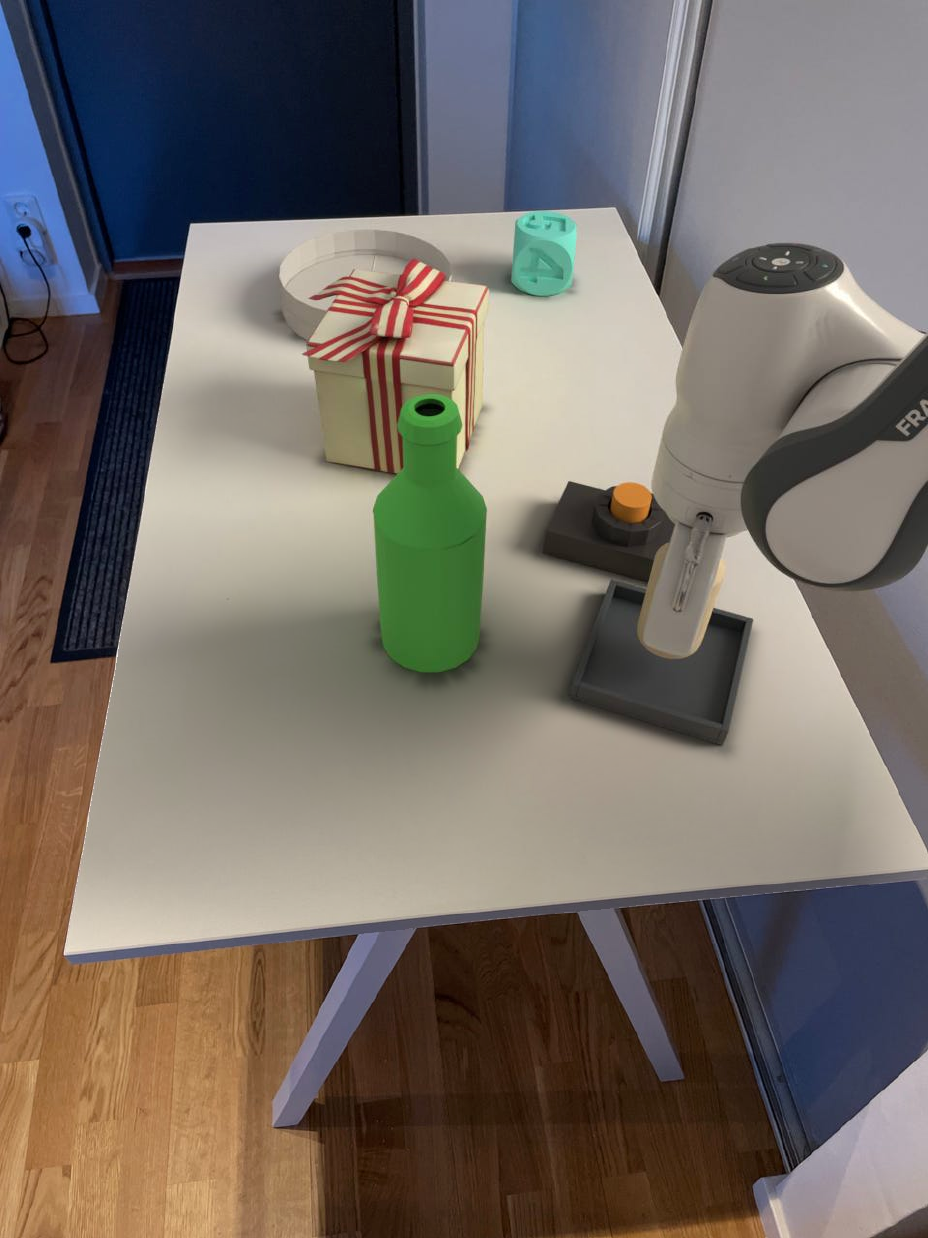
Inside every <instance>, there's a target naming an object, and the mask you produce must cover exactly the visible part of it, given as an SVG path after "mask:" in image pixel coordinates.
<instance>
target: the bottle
mask: <svg viewBox="0 0 928 1238" xmlns="http://www.w3.org/2000/svg"><path fill="white" fill-rule="evenodd" d="M462 426H463V425H462V421H461V417H460V413H459V410H458V406H457V404H456V403H455V402H454V401H453V400H452V399H450V398H447V397H445V396H441V395H436V394H425V395H421V396H416V397H414V398H412V399H409V400H408V401H407V402H406V403H404V404H403V406H402V409H401V412H400V416H399V420H398V424H397V427H398V431H399V433H400V434H401V435H402V437H403V466H404V467H403V469H402V470H401V471H400V472H399V473H396V475H395V476H394V477H393V478H392V479H391V480H390V481H389V482H388V484H387V485H386V486H385V487H384V488H383V489H382V490H381V491H380V492H379V493H378V494H377V496H376V499H375V502H374V505H373V508H372V515H373V528H374V530H373V531H374V545H375V546H374V547H375V564H376V582H377V595H378V596H377V597H378V610H379V611H378V612H379V625H380V635H381V641H382V647H383V649H384V650H385V652H386V653H387V654H388V655H389V657H390V659H392V660H393V661H394V662H396V663H397V664H399V665H401V666H402V667H403V668H405V669H408V670H412V671H416V672H419V673H442V672H446V671H449V670H452V669H456V668H457V667H459V666H461V665H462V664H463V663H465V662H467V661H469V659H470V658H471V657H472V655H473V654H474V653H475V651H476V650H477V649H478V646H479V640H480V635H481V621H482V607H483V591H484V574H485V573H484V572H485V553H486V536H487V535H486V534H487V515H488V514H487V513H488V508H487V505H486V502H485V499H484V496H483V495H482V493H481V492H480V491H479V490H478V489H477V488H476V487H475V486H474V485H473V484H472V482H471V481H470V480H469V479H468V478H467V477H466V476H465V475H464V474H463V472H462V471H461V470H460V469H459V468H457V467H456V463H457V435H458V434H459V433H460V432H461V429H462Z"/></svg>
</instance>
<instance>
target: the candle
mask: <svg viewBox="0 0 928 1238" xmlns="http://www.w3.org/2000/svg"><path fill="white" fill-rule="evenodd" d="M668 545H669V543H666V544H665V545H663V546H662V547H661V548H660V549H659V550H658V551H657V553H656V555H655V559H654V563H653V566H652V570H651V574H650V578H649V582H647V586H646V589H647V590H646V593H645V597H644V601H643V605H642V609H641V613H640V617H639V621H638V626H637V634H638V638H639V640H640V642H641V643H642V645H643V646H644V647H645V648H646V649H647V650H649V651H650V652H652V653H653V654H655V655H657V656H660V657H663V658H668V659H681V658H685V657H688V656H690V655H692V654H693V653H694V652H695V651H696V650H697V649H698V648H699V646H700V644H701V642H702V639H703V637H704V634H705V631H706V628H707V625H708V622H709V619H710V616H711V614H712V611H713V608H715V605H716V603H717V600H718V596H719V594H720V590H721V587H722V585H723V582H724V578H725V576H726V572H727V570H726V563H725V561H724V559H723V557H721V560H720V563H719V567H718V571H717V575H716V578H715V582H714V585H713V588H712V592H711V595H710V598H709V601H708V605H707V608H706V611H705V614H704V617H703V620H702V623H701V626H700V629H699V633H698V636H697V639H696V642H695V645H694V647H693V650H692V651H691V653H690V654H689V655H687V656H678V655H673V654H669V653H665V652H662V651H659V650H656V649H653V648H651V647H649V646H647V645H645V644H644V642H643V631H644V627H645V624H646V620H647V616H648V613H649V609H650V605H651V602H652V598H653V595H654V591H655V587H656V584H657V580H658V577H659V574H660V570H661V567H662V564H663V561H664V557H665V554H666V551H667V548H668Z"/></svg>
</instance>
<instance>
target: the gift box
mask: <svg viewBox="0 0 928 1238" xmlns="http://www.w3.org/2000/svg"><path fill="white" fill-rule="evenodd" d="M445 277H446V274H444V273H442V272H440V271H438V270H436V269H434V268H431V267H429V266H428V265H426V264H424V263H422V262H420V261H418V260H416V259H412V260H411V261H410V262H409V263H408V264H407V265H406V267H405V269H404V272H403V274H402V275H398V274H389V273H382V272H374V271H366V270H357V269H354V270H353V271H352V273H351V274H350V276H349V277H342V278H340V279H338V280H337V281H335V282H333V283H332V284H330V285H329V286H327V287H326V288H324V289H323V290H322V291H320V292H319V293H318V294H316V295H314V296H312V297H310V298H309V299H311V300H321V299H323V298H327V297H330V296H335V295H336V298H335V299H334V301H333V302H332V304H331V305H330V307H329V309H328V310H327V312H326V314H325V316H324V317H323V319H322V320H321V322H320V323H319V325H318V326H317V328H316V329H315V331H314V332H313V334H312V335H311V337H310V339H309V340H307V342H306V344H305V346H306V351H305V352H303V353H302V354H301V355H302V356H305V357H307V361H308V369H309V370H310V371H313V373H314V381H315V389H316V397H317V402H318V403H317V404H318V411H319V418H320V425H321V426H320V427H321V435H322V440H323V441H322V442H323V448H324V449H323V450H324V455H325V461H326V462H327V463H331V464H337V465H338V464H339V465H345V466H350V467H356V468H363V469H367V470H368V469H369V470H374V471H378V472H385V473H392V474H398V473H399V472H400V471H401V470H402V469H403V467H404V466H403V437H402V435H401V434H400V433H399V431H398V427H397V424H398V420H399V416H400V412H401V409H402V406H403V404H404V403H406V402H407V401H408V400H409V399H412V398H414V397H416V396H421V395H425V394H436V395H441V396H445V397H447V398H450V399H452V400H453V401H454V402H455V403H456V404H457V406H458V410H459V413H460V417H461V421H462V425H463V426H462V429H461V432H460V433H459V434H458V435H457V463H456V467H457V468H458V469H459V468H460V465H461V463H462V460H463V458H464V455H465V453H466V452H468V450H469V449H470V439H471V437H472V436H473V434H474V429H475V426H476V423H477V422H478V418H479V416H480V413H481V410H482V409H483V406H484V357H485V356H484V355H485V354H484V353H485V352H484V351H485V350H484V349H485V321H486V318H487V315H488V314H489V293H490V291H489V286H488V285H484V284H476V283H469V282H461V281H452V280H451V281H446V280H444V278H445Z"/></svg>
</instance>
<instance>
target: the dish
mask: <svg viewBox="0 0 928 1238" xmlns="http://www.w3.org/2000/svg"><path fill="white" fill-rule="evenodd" d="M412 259H416V260H418V261H420V262H422V263H424V264H426V265H428V266H429V267H431V268H434V269H436V270H438V271H440V272H442V273H444V274H446V277H445V278H444V280H446V281H452V269H451V262H450V261H449V259H448V258H447V256H446V255H445V254H444V253H443V251H441V250H440V249H439V248H437V246H435V245H433V244H432V243H431V242H427V241H426V240H423V239H421V238H419V237H416V236H414V235H410V234H405V233H402V232H398V231H391V230H384V229H383V230H381V229H352V230H344V231H336V232H331V233H328V234H325V235H321V236H317V237H314V238H312V239H310V240H308V241H306V242H304V243H302V244H300V245H298V246H296V247H295V248H294V249H293V250H292V251H290V252H289V253H288V254H287V255H286V256H285V258H284V259H283V260H282V262H281V264H280V266H279V276H278V278H279V285H280V304H281V312H282V315H283V318H284V320H285V322H286V324H287V326H288V327H289V328H290V329H291V331H293V333H295V334H296V335H298V337H300V338H302V339H304V340H305V341H308V340H309V339H310V337H311V335H312V334H313V332H314V331H315V329H316V328H317V326H318V325H319V323H320V322H321V320H322V319H323V317H324V316H325V314H326V312H327V310H328V309H329V307H330V305H331V304H332V302H333V301H334V299H335V298H336V295H335V296H330V297H327V298H323V299H321V300H311V299H309V298H310V297H312V296H314V295H316V294H318V293H319V292H320V291H322V290H323V289H324V288H326V287H327V286H329V285H330V284H332V283H333V282H335V281H337V280H338V279H340V278H342V277H349V276H350V274H351V273H352V271H353V270H354V269H357V270H366V271H374V272H382V273H389V274H398V275H402V274H403V272H404V269H405V267H406V265H407V264H408V263H409V262H410V261H411V260H412Z"/></svg>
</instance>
